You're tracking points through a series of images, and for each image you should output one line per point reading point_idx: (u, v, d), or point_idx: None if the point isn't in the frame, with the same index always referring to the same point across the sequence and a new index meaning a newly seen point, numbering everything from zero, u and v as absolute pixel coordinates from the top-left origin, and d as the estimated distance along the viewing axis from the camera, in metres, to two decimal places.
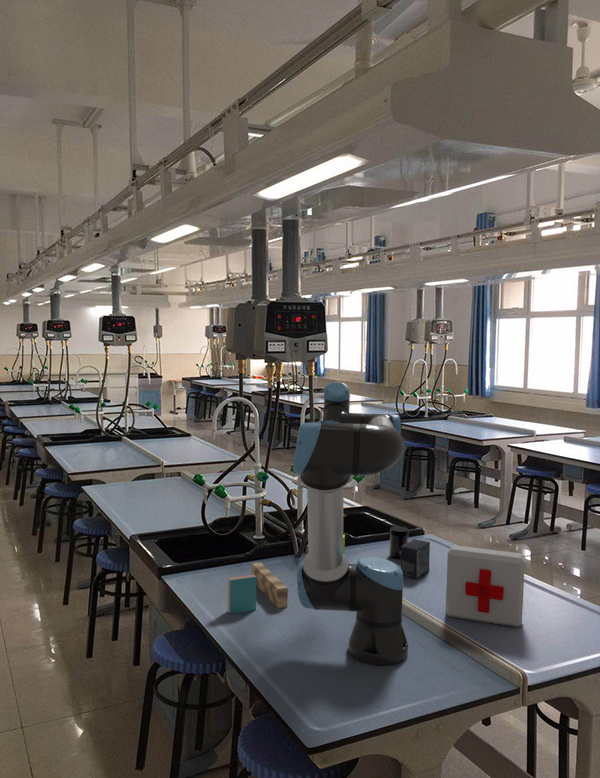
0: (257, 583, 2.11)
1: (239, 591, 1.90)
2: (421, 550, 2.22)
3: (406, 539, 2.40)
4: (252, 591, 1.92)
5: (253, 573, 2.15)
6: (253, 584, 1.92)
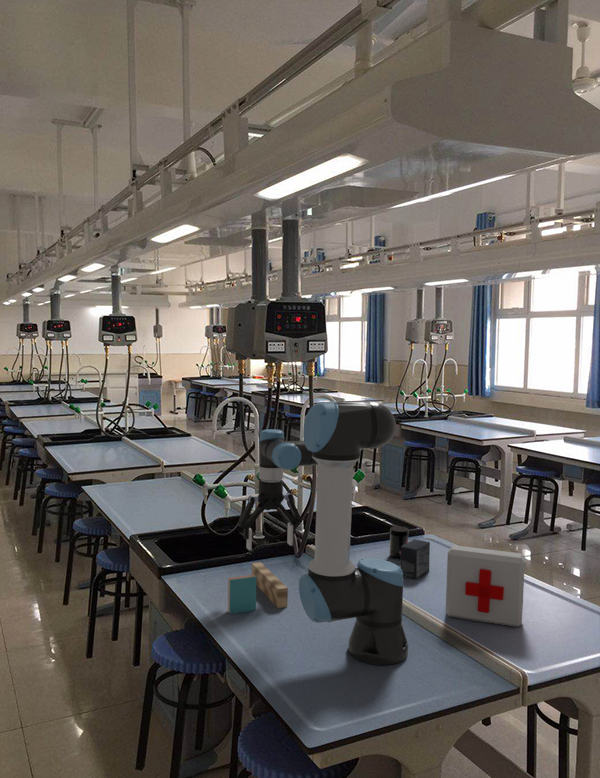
0: (257, 583, 2.11)
1: (239, 591, 1.90)
2: (421, 550, 2.22)
3: (406, 539, 2.40)
4: (252, 591, 1.92)
5: (253, 573, 2.15)
6: (253, 584, 1.92)
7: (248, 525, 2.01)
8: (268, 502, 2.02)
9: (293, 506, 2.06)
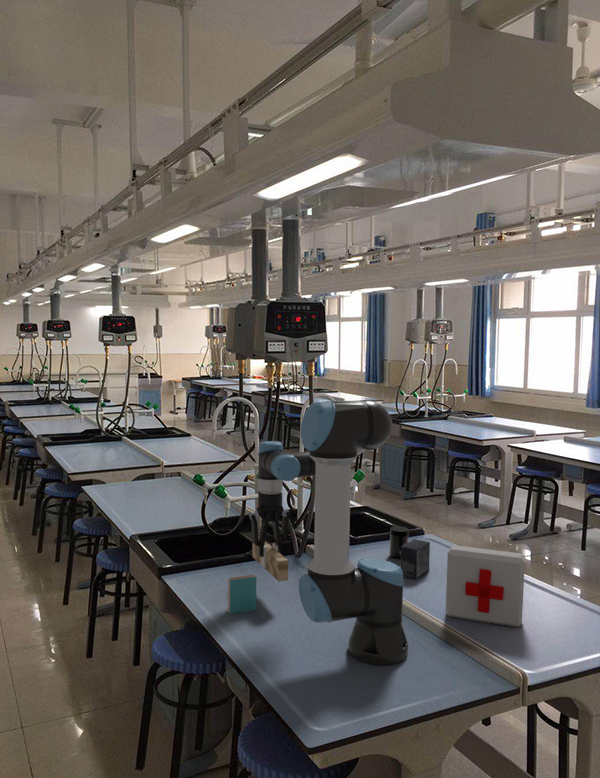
0: (258, 558, 2.10)
1: (239, 591, 1.90)
2: (421, 550, 2.22)
3: (406, 539, 2.40)
4: (252, 591, 1.92)
5: (254, 549, 2.14)
6: (253, 584, 1.92)
7: (262, 543, 2.02)
8: (268, 514, 2.02)
9: (286, 524, 2.05)
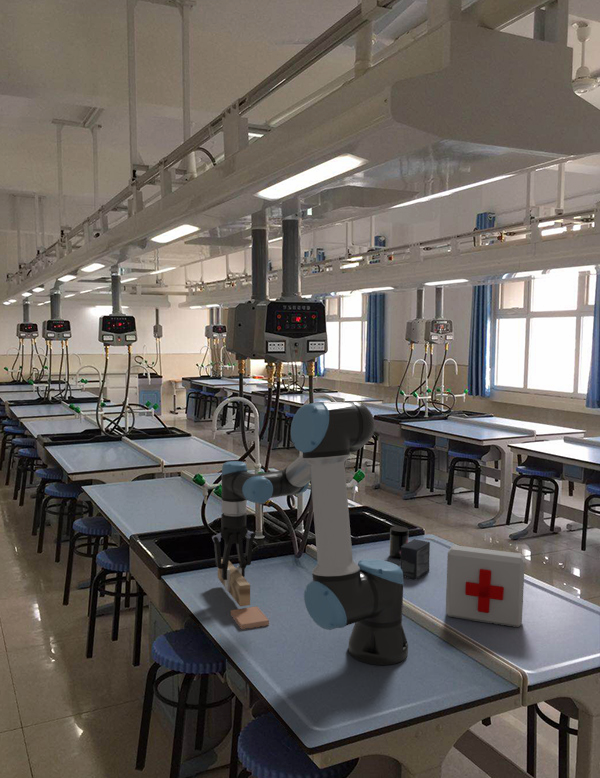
0: (222, 580, 2.06)
1: None
2: (421, 550, 2.22)
3: (406, 539, 2.40)
4: None
5: (219, 569, 2.09)
6: None
7: (225, 566, 1.97)
8: (231, 536, 1.97)
9: (250, 546, 2.00)
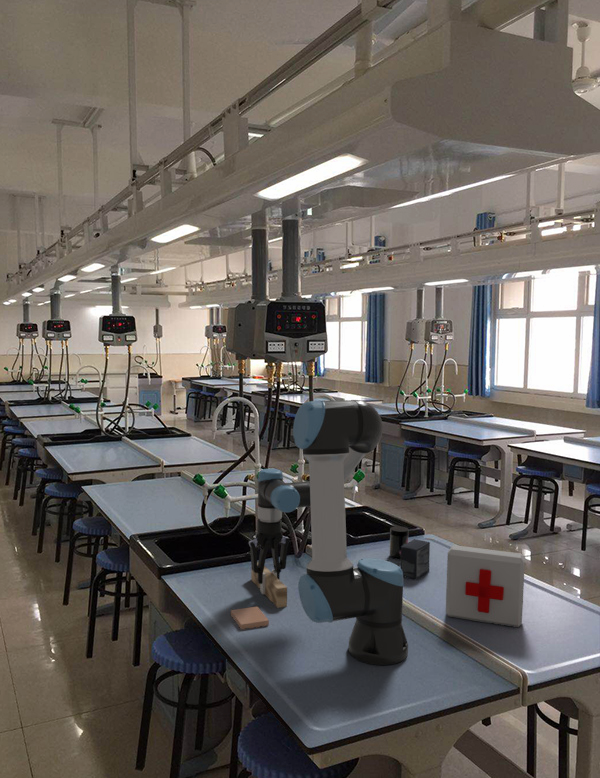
0: (257, 583, 2.12)
1: None
2: (421, 550, 2.22)
3: (406, 539, 2.40)
4: None
5: (253, 573, 2.15)
6: None
7: (261, 570, 2.03)
8: (267, 542, 2.03)
9: (285, 551, 2.06)
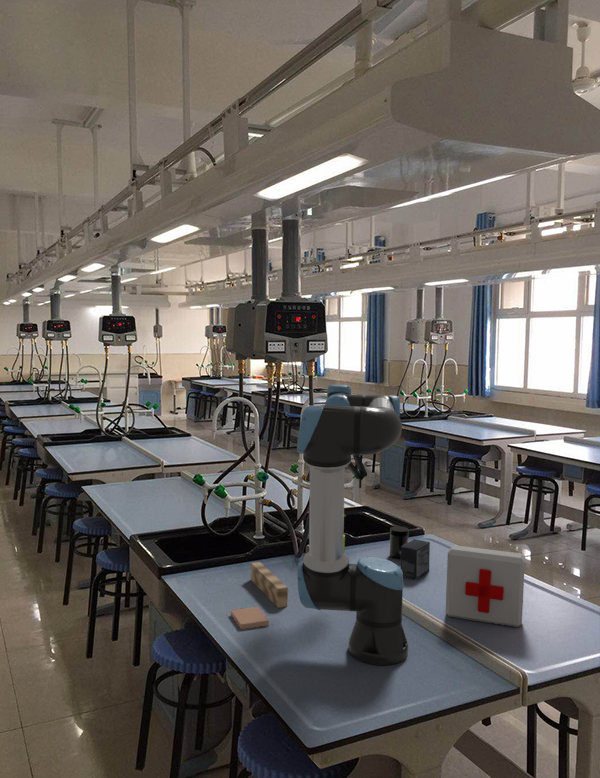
0: (256, 583, 2.12)
1: None
2: (421, 550, 2.22)
3: (406, 539, 2.40)
4: None
5: (252, 573, 2.15)
6: None
7: None
8: None
9: (359, 460, 2.09)
